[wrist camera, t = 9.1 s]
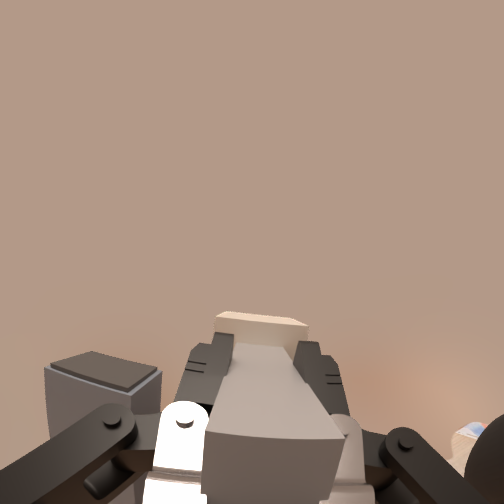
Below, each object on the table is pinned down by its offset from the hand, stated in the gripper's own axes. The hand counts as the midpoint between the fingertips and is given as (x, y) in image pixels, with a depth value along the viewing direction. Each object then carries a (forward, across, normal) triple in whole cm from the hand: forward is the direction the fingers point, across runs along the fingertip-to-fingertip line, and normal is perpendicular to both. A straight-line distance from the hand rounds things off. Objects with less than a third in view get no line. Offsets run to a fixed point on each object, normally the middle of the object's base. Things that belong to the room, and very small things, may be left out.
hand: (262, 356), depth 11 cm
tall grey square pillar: (-5, +15, +43) cm, 46 cm away
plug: (0, 0, +5) cm, 5 cm away
